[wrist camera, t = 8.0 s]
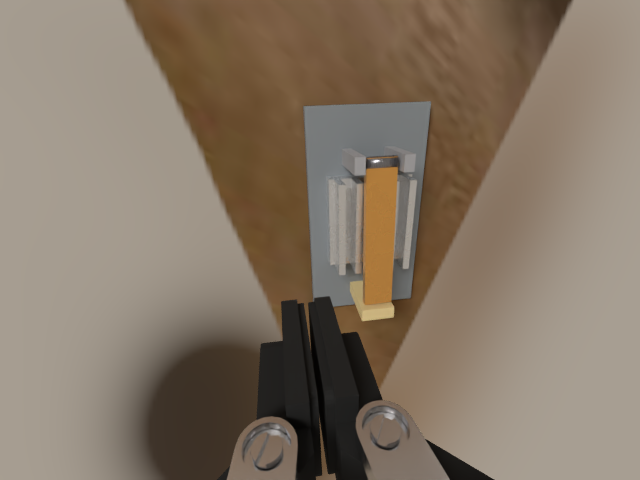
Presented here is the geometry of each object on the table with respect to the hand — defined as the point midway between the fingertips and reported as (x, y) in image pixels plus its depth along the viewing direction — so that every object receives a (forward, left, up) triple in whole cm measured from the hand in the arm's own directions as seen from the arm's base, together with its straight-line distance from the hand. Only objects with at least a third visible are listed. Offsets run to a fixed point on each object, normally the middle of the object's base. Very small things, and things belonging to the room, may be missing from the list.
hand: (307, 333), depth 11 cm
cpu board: (+5, +9, -25) cm, 27 cm away
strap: (+5, +9, -20) cm, 22 cm away
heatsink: (+5, +9, -25) cm, 27 cm away
